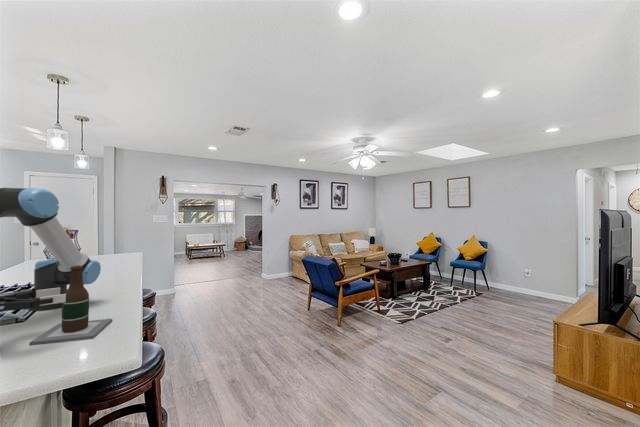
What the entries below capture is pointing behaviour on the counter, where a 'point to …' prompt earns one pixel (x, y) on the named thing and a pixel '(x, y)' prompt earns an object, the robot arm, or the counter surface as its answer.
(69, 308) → the beer bottle
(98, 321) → the picture frame
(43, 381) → the counter surface
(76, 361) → the counter surface
